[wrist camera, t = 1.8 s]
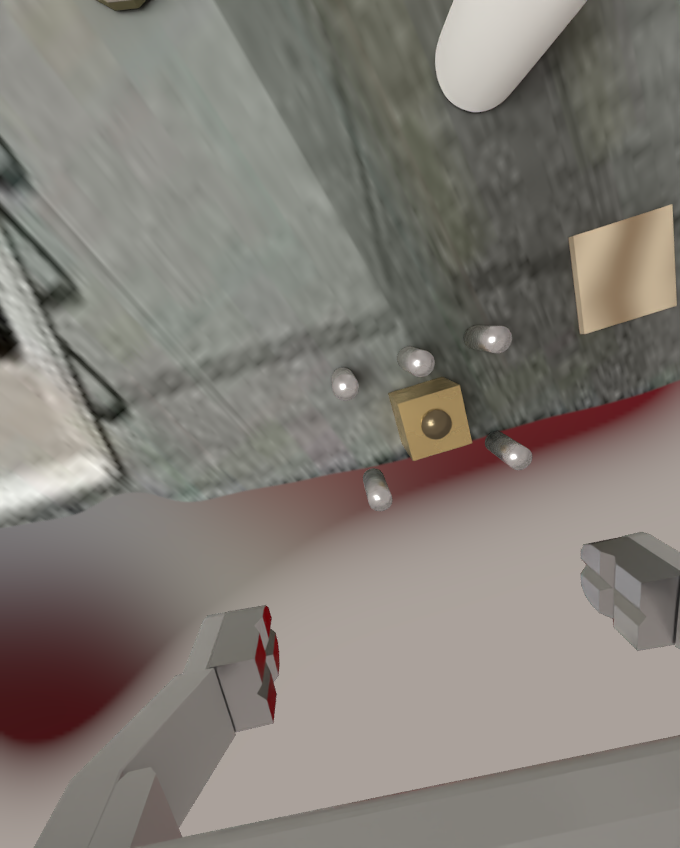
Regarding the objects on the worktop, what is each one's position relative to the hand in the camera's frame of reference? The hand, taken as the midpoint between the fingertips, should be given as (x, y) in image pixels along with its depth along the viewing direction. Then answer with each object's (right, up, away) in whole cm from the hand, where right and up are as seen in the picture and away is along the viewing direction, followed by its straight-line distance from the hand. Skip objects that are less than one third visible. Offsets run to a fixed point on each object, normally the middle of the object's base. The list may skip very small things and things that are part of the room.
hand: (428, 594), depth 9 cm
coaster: (+21, +17, +21) cm, 35 cm away
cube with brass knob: (+5, +6, +24) cm, 25 cm away
